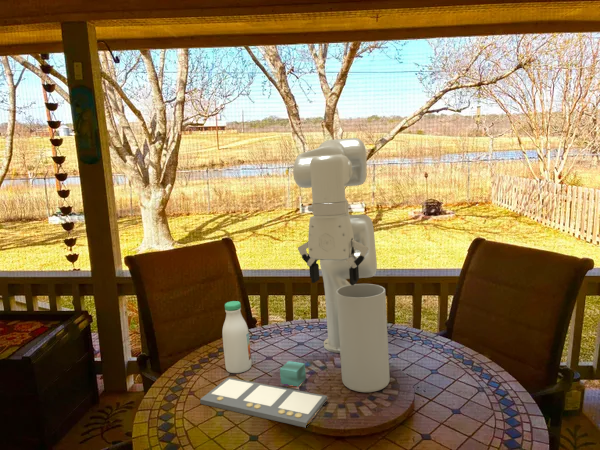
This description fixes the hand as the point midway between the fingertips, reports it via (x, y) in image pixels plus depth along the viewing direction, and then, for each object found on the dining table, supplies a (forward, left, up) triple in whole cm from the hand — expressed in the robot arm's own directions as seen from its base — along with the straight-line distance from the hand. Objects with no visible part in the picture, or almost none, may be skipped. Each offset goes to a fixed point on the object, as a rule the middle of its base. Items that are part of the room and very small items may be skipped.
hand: (334, 282), depth 102 cm
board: (+6, -19, -30) cm, 36 cm away
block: (-5, -16, -30) cm, 35 cm away
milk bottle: (-8, -36, -31) cm, 48 cm away
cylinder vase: (-12, +2, -31) cm, 33 cm away
